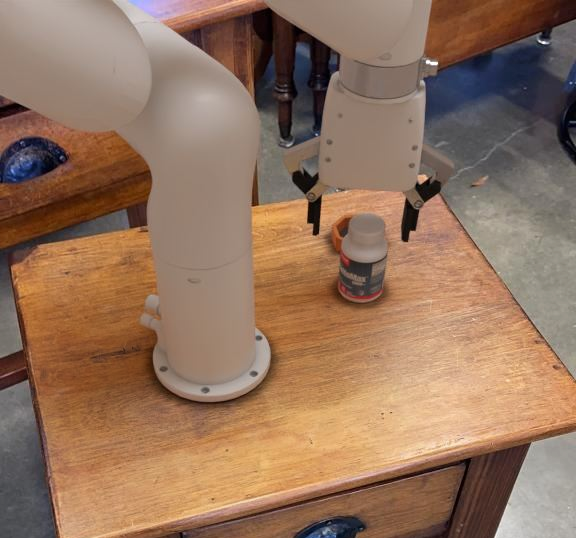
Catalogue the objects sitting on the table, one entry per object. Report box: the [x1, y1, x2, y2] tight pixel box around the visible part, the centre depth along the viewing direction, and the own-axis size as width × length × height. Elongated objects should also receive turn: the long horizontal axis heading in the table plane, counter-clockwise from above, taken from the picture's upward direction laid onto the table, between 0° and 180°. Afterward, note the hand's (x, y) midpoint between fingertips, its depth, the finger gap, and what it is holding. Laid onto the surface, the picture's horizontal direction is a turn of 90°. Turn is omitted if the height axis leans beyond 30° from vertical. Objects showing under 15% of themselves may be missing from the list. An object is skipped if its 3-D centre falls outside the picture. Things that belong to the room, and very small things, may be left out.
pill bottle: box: [337, 212, 389, 304], centre depth 93 cm, size 5×5×9 cm
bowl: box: [330, 213, 359, 253], centre depth 101 cm, size 6×6×2 cm
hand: (360, 231), depth 90 cm, fingers open, 9 cm apart
